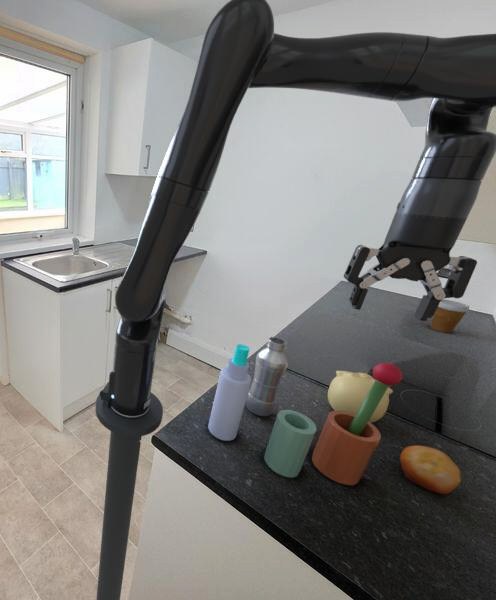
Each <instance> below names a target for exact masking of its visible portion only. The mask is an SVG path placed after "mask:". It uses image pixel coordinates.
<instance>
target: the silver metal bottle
mask: <svg viewBox="0 0 496 600" xmlns="http://www.w3.org/2000/svg"><path fill="white" fill-rule="evenodd" d="M287 346H288V341H286V340H285V339H284V338H281V337H277V336H270V337H268V340H267V342H266V347H265V348H262V349H261V350H260V351H259V352H258V353H257V354H256V357H255V367H254V368H255V369H254V372H253V373H254V374H253V379H252V381H251V384H250V387H249V391H248V395H247V398H246V402H245V407H246V408H247V410H248V411H249V412H251V413H253V414H254V415H257V416H259V417H269V416H271V415H272V414H273V413H274V412H275V409H276V404H277V394H278V390H279V389H278V388H279V385H280V384H281V381H282V378H283V376H284V374H285V372H286V371H287V368H288V366H289V361H288V358H287V355H286V353H285V352H286V350H287Z"/></svg>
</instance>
